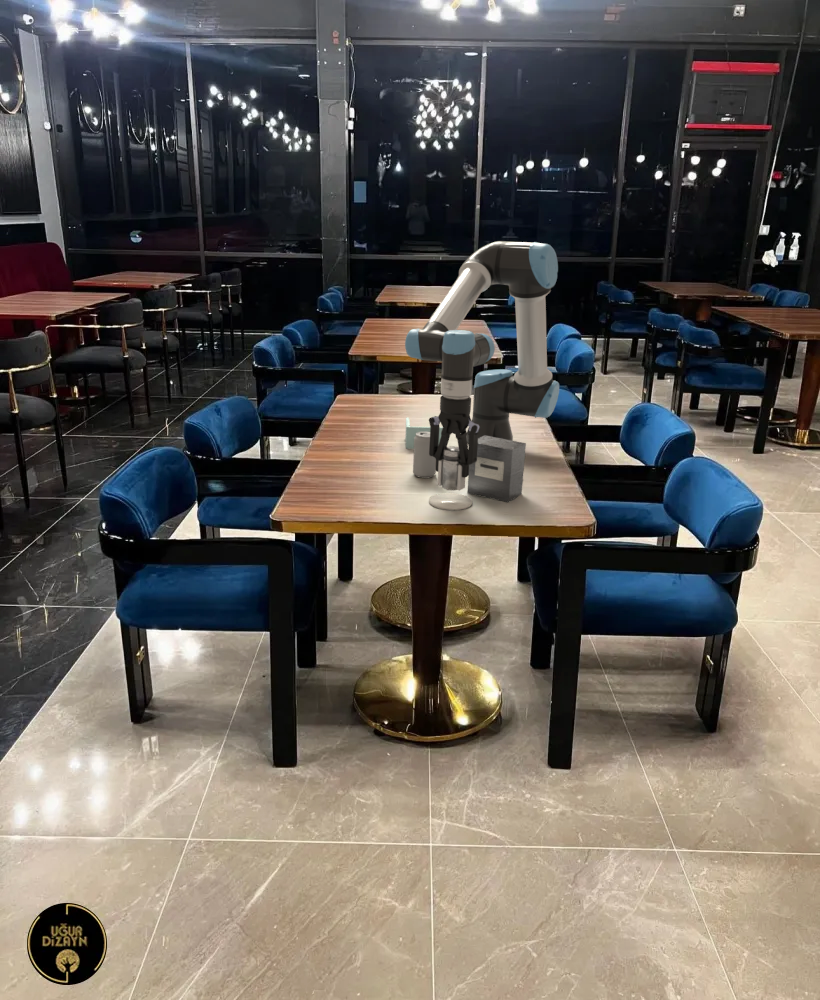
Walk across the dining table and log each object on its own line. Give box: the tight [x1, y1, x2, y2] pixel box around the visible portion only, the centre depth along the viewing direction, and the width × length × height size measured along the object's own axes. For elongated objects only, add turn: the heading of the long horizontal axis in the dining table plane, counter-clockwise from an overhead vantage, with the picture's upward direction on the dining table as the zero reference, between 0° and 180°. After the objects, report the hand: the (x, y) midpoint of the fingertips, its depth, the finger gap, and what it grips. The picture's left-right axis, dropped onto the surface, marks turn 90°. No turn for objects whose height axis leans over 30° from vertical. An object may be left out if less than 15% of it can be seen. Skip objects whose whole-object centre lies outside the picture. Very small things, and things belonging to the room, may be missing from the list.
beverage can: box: [412, 431, 437, 479], centre depth 217 cm, size 6×6×12 cm
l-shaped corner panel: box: [404, 417, 443, 450], centre depth 248 cm, size 12×12×8 cm
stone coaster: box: [428, 492, 473, 511], centre depth 199 cm, size 11×11×1 cm
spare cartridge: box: [441, 445, 461, 491], centre depth 196 cm, size 5×5×10 cm
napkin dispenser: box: [466, 435, 527, 503], centre depth 203 cm, size 8×12×14 cm
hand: (451, 486), depth 197 cm, fingers closed on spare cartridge, 5 cm apart
